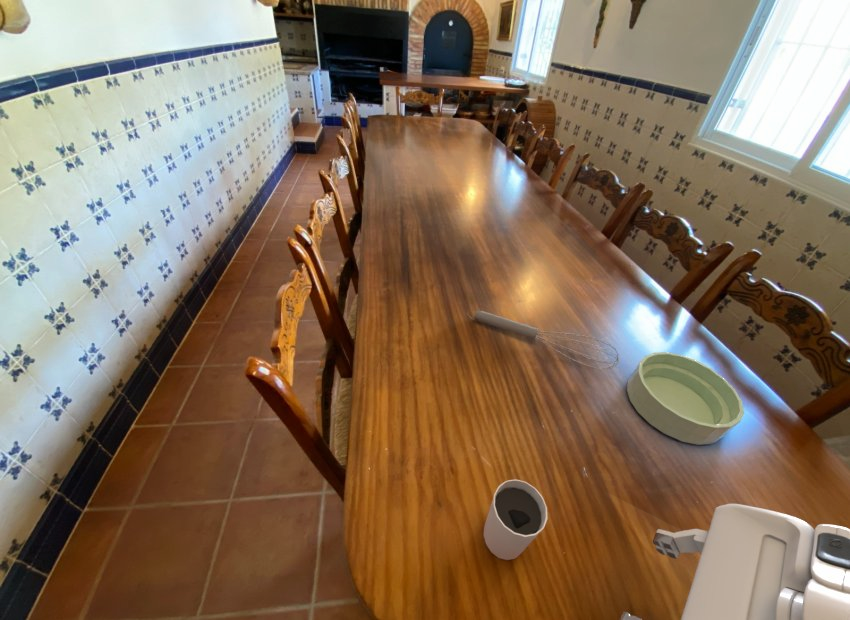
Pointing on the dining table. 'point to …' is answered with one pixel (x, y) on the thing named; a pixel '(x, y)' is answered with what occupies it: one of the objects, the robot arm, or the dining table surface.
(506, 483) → the white coffee cup
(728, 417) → the bowl
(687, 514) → the dining table surface
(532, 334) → the kitchen whisk
